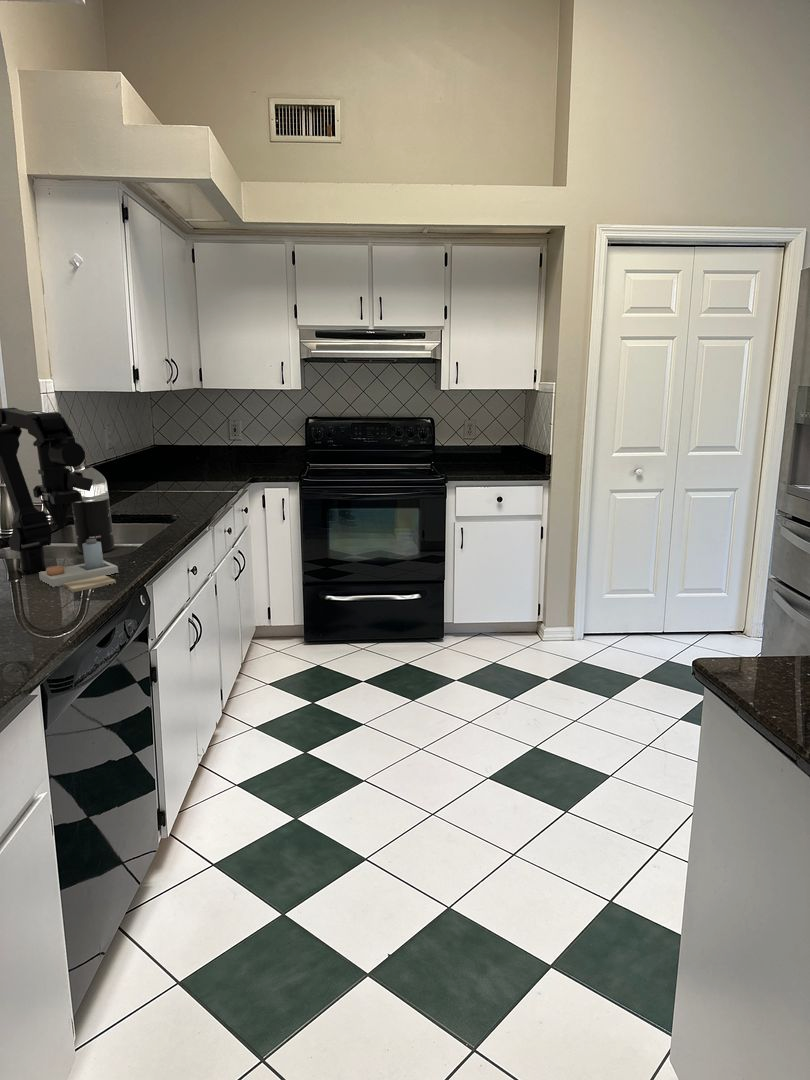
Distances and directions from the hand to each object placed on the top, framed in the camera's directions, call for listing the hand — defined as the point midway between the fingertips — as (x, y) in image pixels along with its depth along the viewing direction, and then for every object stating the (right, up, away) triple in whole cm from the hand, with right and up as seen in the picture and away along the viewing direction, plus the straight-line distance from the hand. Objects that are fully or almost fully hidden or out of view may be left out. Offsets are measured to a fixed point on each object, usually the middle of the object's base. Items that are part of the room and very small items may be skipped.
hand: (61, 528), depth 185 cm
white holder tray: (+2, -12, +5) cm, 13 cm away
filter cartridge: (+5, -12, +7) cm, 15 cm away
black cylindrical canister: (-5, -6, +33) cm, 34 cm away
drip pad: (+8, -14, -3) cm, 16 cm away
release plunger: (-2, -13, +1) cm, 13 cm away
